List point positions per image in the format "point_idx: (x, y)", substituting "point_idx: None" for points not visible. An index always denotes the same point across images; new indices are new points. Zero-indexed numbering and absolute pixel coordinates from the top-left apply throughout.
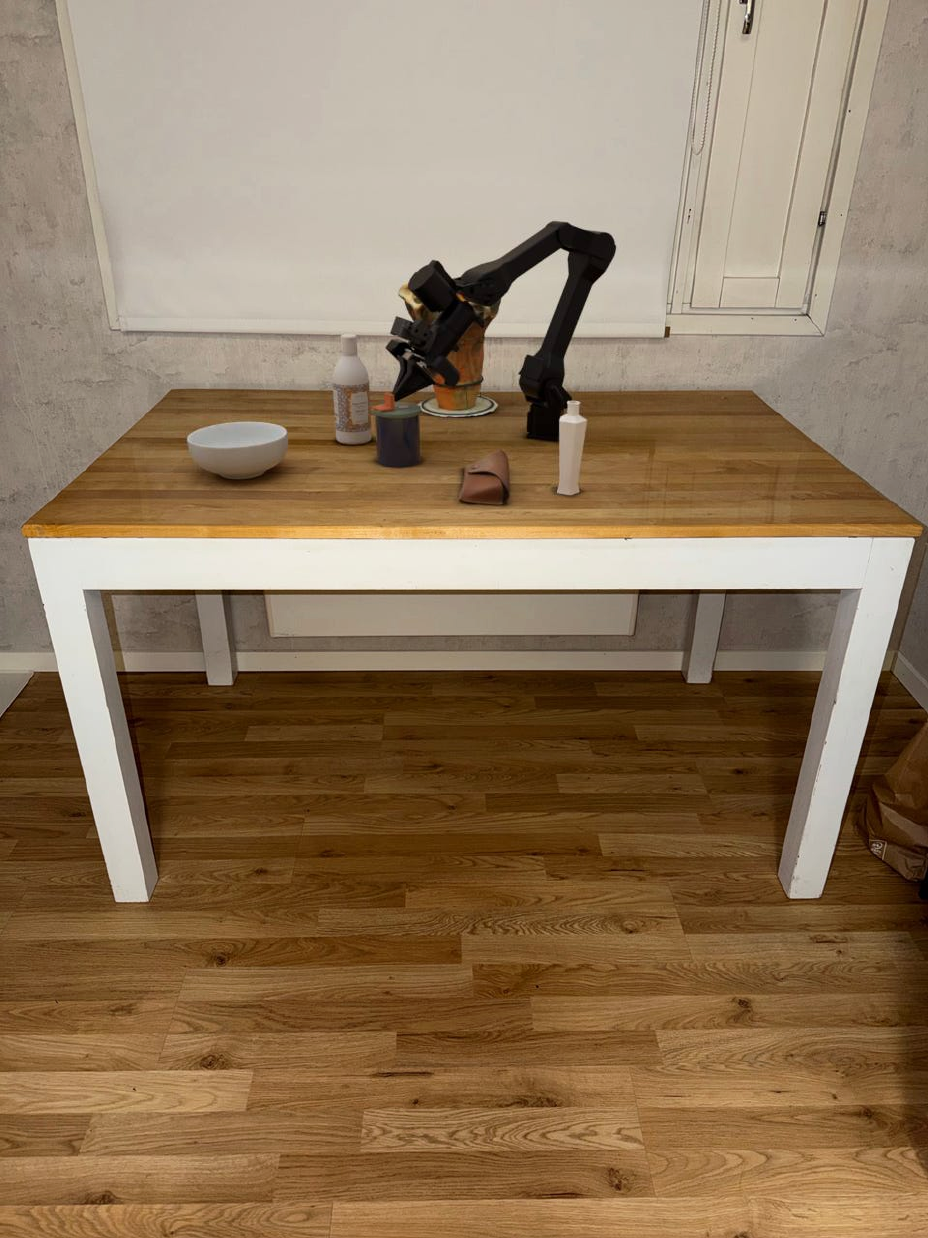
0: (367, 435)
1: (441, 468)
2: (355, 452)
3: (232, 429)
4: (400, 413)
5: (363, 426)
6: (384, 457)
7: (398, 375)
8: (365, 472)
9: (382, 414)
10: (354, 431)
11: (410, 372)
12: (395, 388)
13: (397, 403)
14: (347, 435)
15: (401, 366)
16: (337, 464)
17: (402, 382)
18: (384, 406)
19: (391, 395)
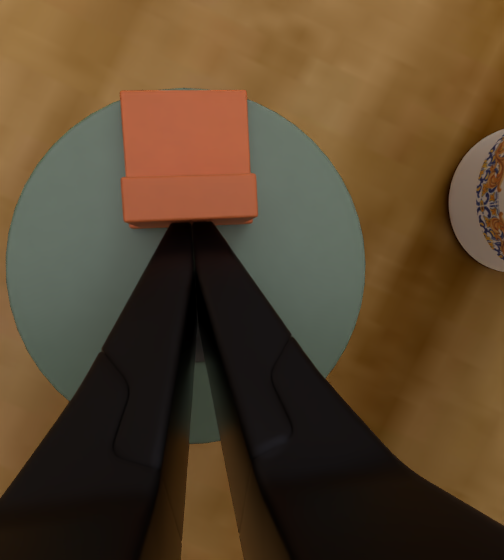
0: (469, 236)
1: (20, 374)
2: (366, 144)
3: None
4: (34, 230)
5: (491, 213)
6: None
7: (322, 380)
8: (106, 73)
9: (100, 109)
10: (482, 169)
11: (14, 513)
12: (209, 275)
13: (314, 325)
14: (487, 145)
15: (379, 493)
16: (254, 13)
17: (128, 346)
18: (204, 168)
19: (121, 190)
